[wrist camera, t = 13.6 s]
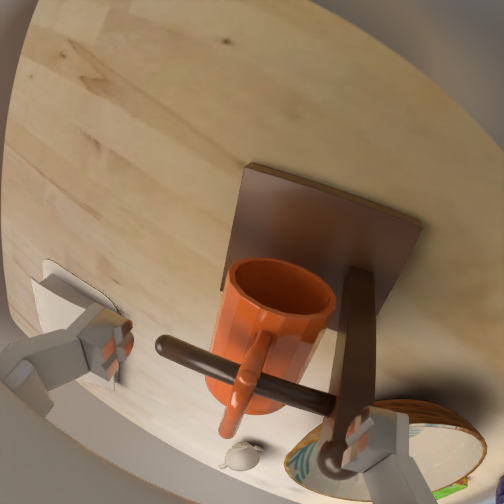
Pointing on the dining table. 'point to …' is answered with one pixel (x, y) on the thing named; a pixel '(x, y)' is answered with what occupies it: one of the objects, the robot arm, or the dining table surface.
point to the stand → (329, 270)
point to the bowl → (420, 448)
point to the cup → (266, 331)
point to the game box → (451, 489)
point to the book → (67, 306)
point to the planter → (500, 492)
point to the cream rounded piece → (242, 457)
